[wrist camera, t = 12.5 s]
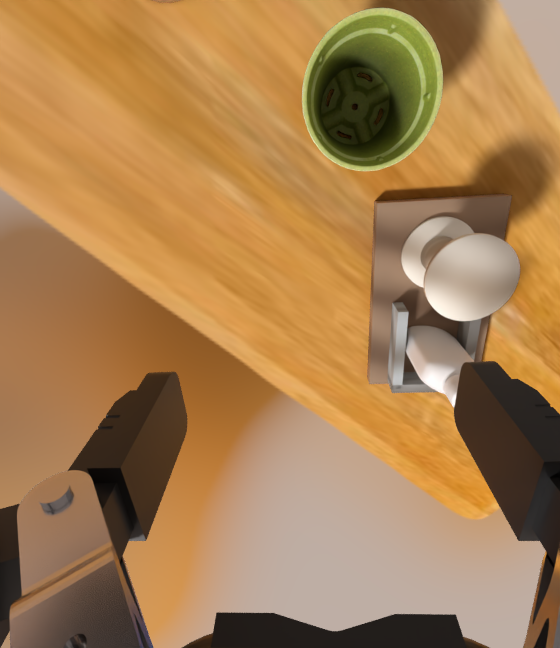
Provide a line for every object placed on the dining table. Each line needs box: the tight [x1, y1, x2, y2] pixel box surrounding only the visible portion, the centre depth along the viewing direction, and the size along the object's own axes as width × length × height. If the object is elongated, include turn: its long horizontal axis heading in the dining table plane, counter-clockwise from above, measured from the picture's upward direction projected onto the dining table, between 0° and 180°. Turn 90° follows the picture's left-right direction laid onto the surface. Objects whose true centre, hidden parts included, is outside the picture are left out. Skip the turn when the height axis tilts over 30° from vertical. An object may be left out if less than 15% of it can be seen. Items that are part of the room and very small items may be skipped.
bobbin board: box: [367, 194, 520, 393], centre depth 36 cm, size 20×12×10 cm, turn 4°
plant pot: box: [302, 8, 443, 171], centre depth 29 cm, size 9×9×9 cm
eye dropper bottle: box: [405, 326, 474, 407], centre depth 35 cm, size 4×6×12 cm
